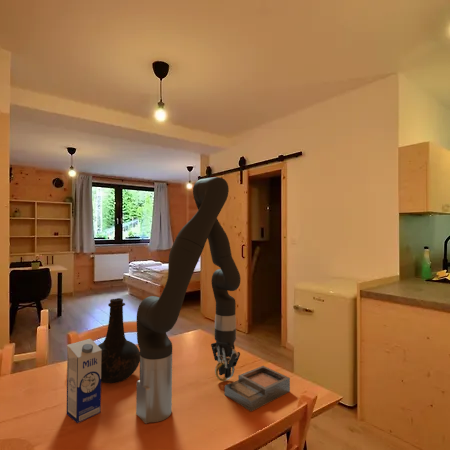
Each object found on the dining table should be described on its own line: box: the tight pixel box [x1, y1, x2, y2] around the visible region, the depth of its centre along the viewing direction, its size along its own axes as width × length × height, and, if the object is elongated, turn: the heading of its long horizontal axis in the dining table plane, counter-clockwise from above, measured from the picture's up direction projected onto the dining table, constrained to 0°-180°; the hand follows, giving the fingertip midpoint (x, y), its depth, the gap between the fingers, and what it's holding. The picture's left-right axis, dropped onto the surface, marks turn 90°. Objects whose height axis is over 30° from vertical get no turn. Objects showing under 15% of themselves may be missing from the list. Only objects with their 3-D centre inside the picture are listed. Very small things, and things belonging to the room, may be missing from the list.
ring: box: [214, 359, 235, 382], centre depth 111 cm, size 7×3×8 cm, turn 106°
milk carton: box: [66, 338, 102, 424], centre depth 91 cm, size 7×7×20 cm
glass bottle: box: [97, 297, 140, 384], centre depth 113 cm, size 18×18×28 cm
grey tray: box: [224, 365, 291, 412], centre depth 103 cm, size 18×12×4 cm, turn 130°
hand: (224, 375), depth 111 cm, fingers open, 2 cm apart
